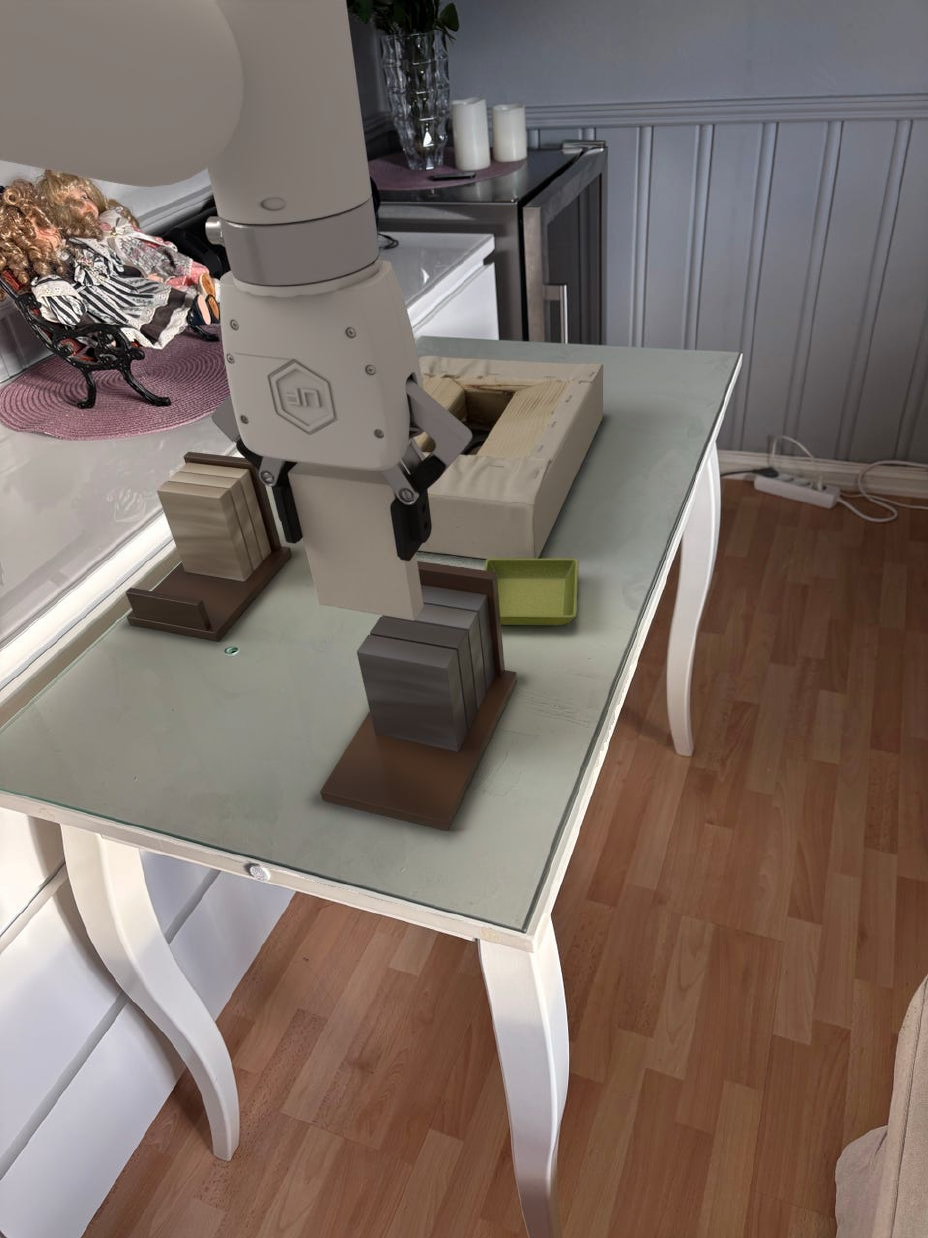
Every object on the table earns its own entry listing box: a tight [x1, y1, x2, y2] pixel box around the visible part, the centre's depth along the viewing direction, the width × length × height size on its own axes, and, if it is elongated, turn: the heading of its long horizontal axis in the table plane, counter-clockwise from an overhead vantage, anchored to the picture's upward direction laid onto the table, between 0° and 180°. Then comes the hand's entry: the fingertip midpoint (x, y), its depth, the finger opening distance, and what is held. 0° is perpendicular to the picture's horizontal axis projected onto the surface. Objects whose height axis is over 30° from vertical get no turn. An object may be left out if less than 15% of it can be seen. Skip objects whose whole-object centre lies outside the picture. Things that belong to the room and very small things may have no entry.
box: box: [401, 355, 604, 560], centre depth 100 cm, size 23×8×32 cm
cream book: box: [288, 462, 424, 621], centre depth 57 cm, size 2×7×10 cm, turn 70°
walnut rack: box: [319, 560, 518, 832], centre depth 68 cm, size 16×10×11 cm, turn 160°
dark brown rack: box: [125, 451, 293, 642], centre depth 86 cm, size 14×10×11 cm
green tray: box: [483, 558, 580, 626], centre depth 82 cm, size 9×9×2 cm
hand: (357, 538), depth 56 cm, fingers closed on cream book, 7 cm apart
